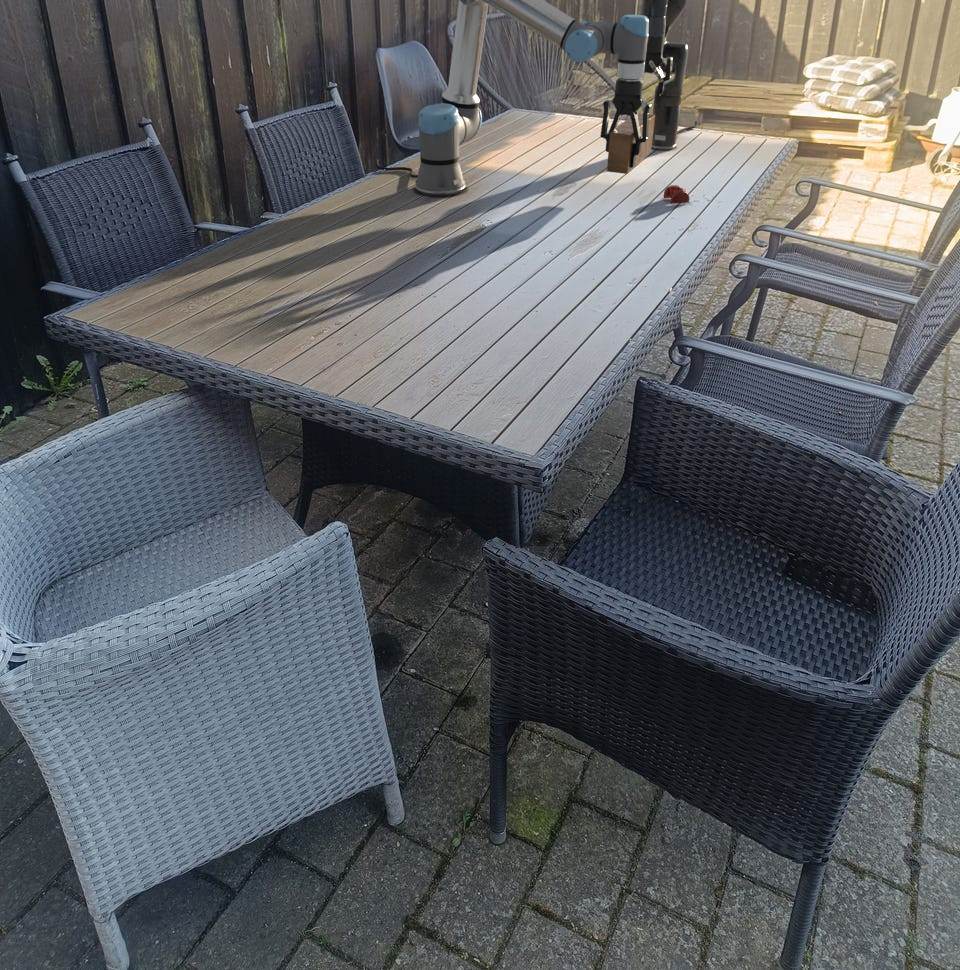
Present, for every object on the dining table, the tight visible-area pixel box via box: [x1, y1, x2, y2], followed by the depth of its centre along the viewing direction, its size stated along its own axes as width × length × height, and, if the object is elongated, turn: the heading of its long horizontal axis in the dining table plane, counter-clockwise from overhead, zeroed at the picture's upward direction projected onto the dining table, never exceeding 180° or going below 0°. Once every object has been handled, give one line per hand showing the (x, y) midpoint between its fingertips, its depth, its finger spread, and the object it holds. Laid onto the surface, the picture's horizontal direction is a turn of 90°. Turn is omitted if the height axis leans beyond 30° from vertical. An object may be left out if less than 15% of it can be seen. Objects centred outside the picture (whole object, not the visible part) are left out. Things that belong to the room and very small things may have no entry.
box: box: [606, 112, 655, 175], centre depth 251 cm, size 27×6×11 cm, turn 156°
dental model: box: [663, 184, 690, 205], centre depth 248 cm, size 6×4×8 cm
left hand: (621, 164), depth 247 cm, fingers closed on box, 6 cm apart
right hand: (644, 94), depth 253 cm, fingers open, 8 cm apart
